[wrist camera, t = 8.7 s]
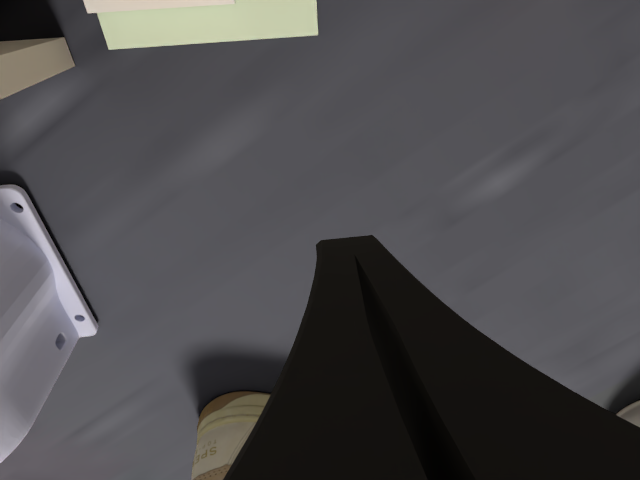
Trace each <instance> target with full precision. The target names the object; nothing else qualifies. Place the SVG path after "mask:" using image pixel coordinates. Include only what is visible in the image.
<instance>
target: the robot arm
mask: <svg viewBox="0 0 640 480" xmlns="http://www.w3.org/2000/svg"><path fill="white" fill-rule="evenodd" d="M15 203H18V204H20V205H21V206H22V207H23V209H22V208H19V207H17V206H16V204H15ZM316 251H317V262H316V269H315V275H314V280H313V284H312V288H311V292H310V296H309V300H308V304H307V307H306V310H305V313H304V316H303V319H302V322H301V325H300V328H299V331H298V334H297V336H296V339H295V342H294V344H293V347H292V349H291V352H290V354H289V356H288V359H287V361H286V363H285V365H284V368H283V370H282V372H281V375H280V377H279V379H278V381H277V383H276V385H275V387H274V389H273V391H272V393H271V395H270V397H269V399H268V401H267V403H266V405H265V407H264V409H263V411H262V413H261V415H260V417H259V418H258V420H257V422H256V424H255V426H254V428H253V429H252V431H251V433H250V435H249V436H248V438H247V440H246V441H245V443H244V445H243V447H242V448H241V450H240V452H239V453H238V455H237V457H236V458H235V460H234V462H233V463H232V465H231V467H230V469H229V470H228V472H227V474H226V475H225V477H224V479H223V480H640V427H638V426H636V425H634V424H632V423H630V422H629V421H627V420H625V419H623V418H621V417H619V416H617V415H615V414H613V413H611V412H609V411H608V410H606V409H604V408H602V407H600V406H598V405H597V404H595V403H593V402H591V401H589V400H588V399H586V398H584V397H582V396H581V395H579V394H577V393H575V392H573V391H572V390H570V389H568V388H567V387H565V386H563V385H562V384H560V383H558V382H557V381H555V380H553V379H552V378H550V377H548V376H547V375H545V374H543V373H542V372H540V371H538V370H537V369H535V368H533V367H532V366H530V365H529V364H527V363H525V362H524V361H522V360H521V359H519V358H518V357H516V356H515V355H513V354H512V353H510V352H509V351H507V350H506V349H504V348H503V347H501V346H500V345H498V344H497V343H496V342H494V341H493V340H491V339H490V338H488V337H487V336H486V335H484V334H483V333H481V332H480V331H478V330H477V329H476V328H474V327H473V326H472V325H470V324H469V323H468V322H466V321H465V320H464V319H463V318H461V317H460V316H459V315H458V314H456V313H455V312H454V311H453V310H452V309H450V308H449V307H448V306H447V305H445V304H444V303H443V302H442V301H441V300H440V299H438V298H437V297H436V296H435V295H434V294H433V293H432V292H430V291H429V290H428V289H427V288H426V287H425V286H424V285H423V284H422V283H421V282H420V281H418V280H417V279H416V278H415V277H414V276H413V275H412V274H411V273H410V272H409V271H408V270H407V269H406V268H405V267H404V266H403V265H402V264H401V263H400V262H399V261H398V260H397V259H396V258H395V257H394V256H393V255H392V254H391V253H390V252H389V251H388V250H387V249H386V248H385V247H384V246H383V245H382V244H381V243H380V242H379V241H378V240H377V239H376V238H375V237H374V236H373V235H369V236H359V237H349V238H339V239H329V240H321V241H320V242H319V243H318V244H317V245H316ZM80 315H82V316H80ZM98 328H99V327H98V324H97V322H96V320H95V319H94V317H93V315H92V313H91V311H90V309H89V307H88V306H87V304H86V302H85V300H84V298H83V296H82V294H81V293H80V291H79V289H78V287H77V285H76V283H75V282H74V280H73V278H72V276H71V274H70V272H69V270H68V269H67V267H66V265H65V263H64V261H63V259H62V257H61V256H60V254H59V252H58V250H57V248H56V246H55V244H54V243H53V241H52V239H51V237H50V235H49V233H48V232H47V230H46V228H45V226H44V224H43V222H42V220H41V219H40V217H39V215H38V213H37V211H36V209H35V207H34V206H33V204H32V202H31V200H30V198H29V196H28V194H27V193H26V192H25V190H24V189H22V188H21V187H19V186H17V185H11V184H9V185H0V463H1V462H2V461H3V460H4V459H5V458H6V457H7V456H8V455H9V454H10V453H11V452H12V451H13V450H14V449H15V448H16V447H17V446H18V445H19V444H20V442H21V441H22V440H23V439H24V437H25V436H26V435H27V433H28V432H29V430H30V428H31V427H32V425H33V423H34V421H35V419H36V418H37V416H38V414H39V412H40V410H41V408H42V406H43V404H44V403H45V401H46V399H47V397H48V395H49V393H50V391H51V389H52V388H53V386H54V384H55V382H56V380H57V378H58V376H59V374H60V373H61V371H62V369H63V367H64V365H65V363H66V361H67V360H68V358H69V356H70V354H71V352H72V350H73V348H74V346H75V345H76V343H77V341H78V339H79V337H86V336H92V335H94V334H96V332H97V330H98Z"/></svg>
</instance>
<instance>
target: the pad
mask: <svg viewBox="0 0 640 480" xmlns="http://www.w3.org/2000/svg"><path fill="white" fill-rule="evenodd" d="M97 15H98V18H99V21H100V24H101V27H102V30H103V33H104V36H105V39H106V42H107V46H108V49H109V50H111V49H126V48H140V47H154V46H169V45H183V44H197V43H212V42H226V41H240V40H255V39H269V38H284V37H298V36H312V35H318V23H317V2H316V0H236V3H235V4H225V5H210V6H194V7H179V8H163V9H147V10H132V11H116V12H101V13H97Z"/></svg>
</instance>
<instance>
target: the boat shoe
mask: <svg viewBox="0 0 640 480" xmlns="http://www.w3.org/2000/svg"><path fill="white" fill-rule="evenodd" d="M270 395H271V394H268V393H261V392H251V391H238V392H232V393H227V394H224V395H222V396H219V397H217V398H216V399H214V400H213V401H211V402H210V403H209V404H208V405H206V407H205V408H204V409H203V411H202V412H201V415H200V417H199V422H198V426H197V432H198V438H197V448H196V451H195V456H194V461H193V468H192V480H223V479H224V477H225V475H226V474H227V472H228V470H229V469H230V467H231V465H232V463H233V462H234V460H235V458H236V457H237V455H238V453H239V452H240V450H241V448H242V447H243V445H244V443H245V441H246V440H247V438H248V436H249V435H250V433H251V431H252V429H253V428H254V426H255V424H256V422H257V420H258V418H259V417H260V415H261V413H262V411H263V409H264V407H265V405H266V403H267V401H268V399H269V397H270Z"/></svg>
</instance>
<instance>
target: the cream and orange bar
mask: <svg viewBox="0 0 640 480" xmlns="http://www.w3.org/2000/svg"><path fill="white" fill-rule="evenodd" d="M83 1H84V4H85V7H86V10H87V13H101V12H116V11H132V10H147V9H163V8H179V7H194V6H210V5H225V4H235V3H236V0H83Z"/></svg>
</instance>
